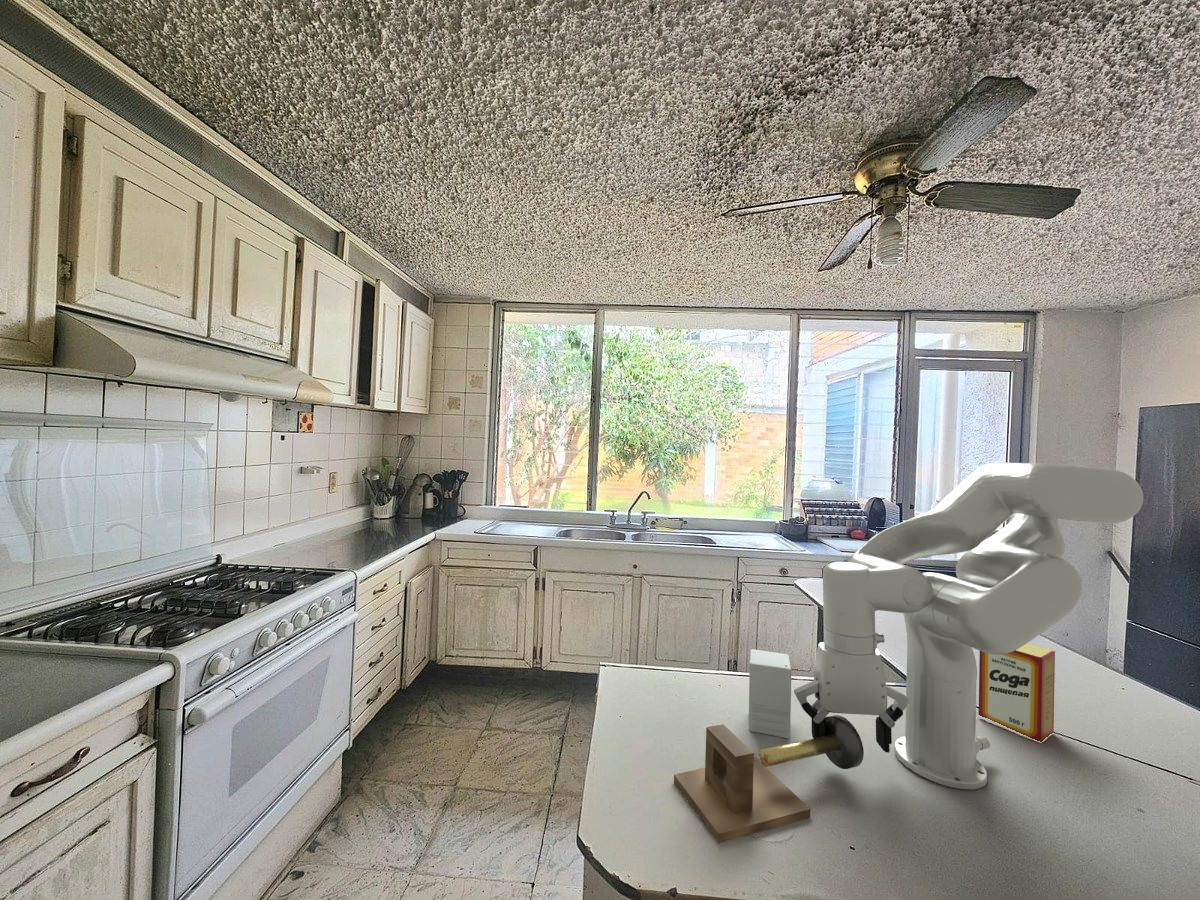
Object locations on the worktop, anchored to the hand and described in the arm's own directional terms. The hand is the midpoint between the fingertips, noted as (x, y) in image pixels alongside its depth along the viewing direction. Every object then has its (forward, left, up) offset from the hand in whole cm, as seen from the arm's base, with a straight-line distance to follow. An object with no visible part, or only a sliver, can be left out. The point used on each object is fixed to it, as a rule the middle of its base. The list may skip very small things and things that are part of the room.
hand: (851, 745), depth 77 cm
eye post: (+21, 0, -4) cm, 22 cm away
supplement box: (+4, -15, -4) cm, 16 cm away
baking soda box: (-43, -1, -4) cm, 43 cm away
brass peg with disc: (+9, 0, -2) cm, 10 cm away
